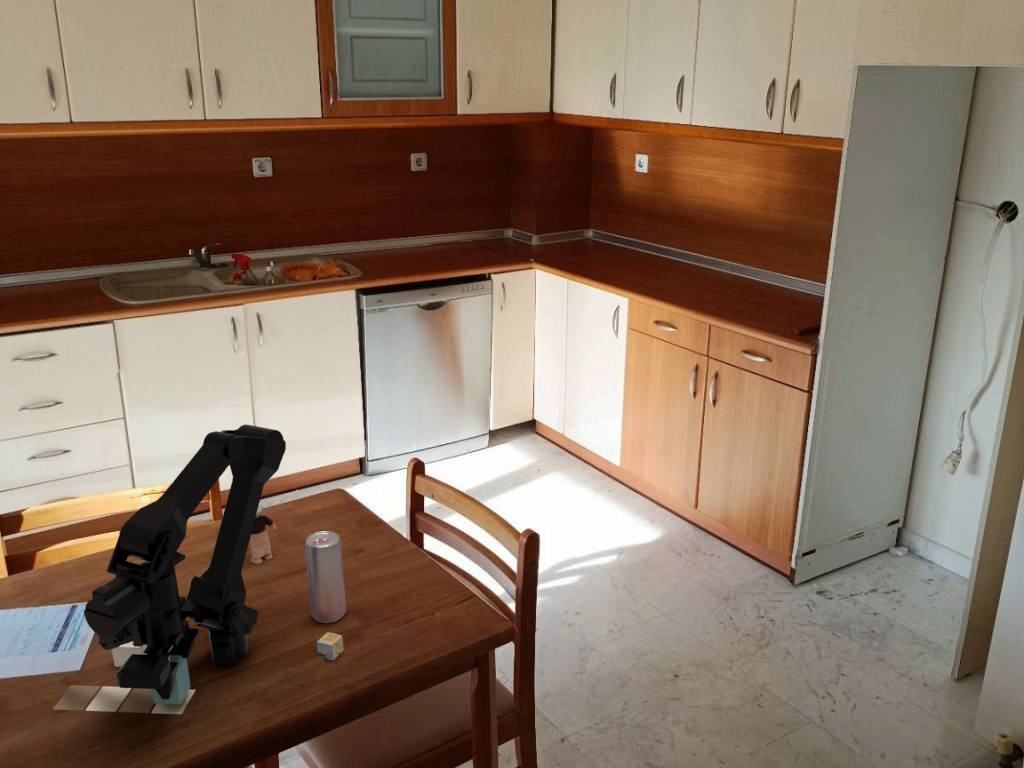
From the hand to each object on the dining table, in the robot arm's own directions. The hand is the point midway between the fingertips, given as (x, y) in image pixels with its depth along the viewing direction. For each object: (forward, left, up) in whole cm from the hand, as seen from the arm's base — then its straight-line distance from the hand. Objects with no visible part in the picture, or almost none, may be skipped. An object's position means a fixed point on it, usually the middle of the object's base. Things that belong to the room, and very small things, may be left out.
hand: (171, 689), depth 140 cm
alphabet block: (-14, +20, -3) cm, 25 cm away
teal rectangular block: (0, 0, -1) cm, 1 cm away
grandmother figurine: (-43, 0, -3) cm, 43 cm away
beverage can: (-25, +18, -3) cm, 31 cm away
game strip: (0, -8, -3) cm, 8 cm away
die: (-10, -10, -3) cm, 15 cm away
